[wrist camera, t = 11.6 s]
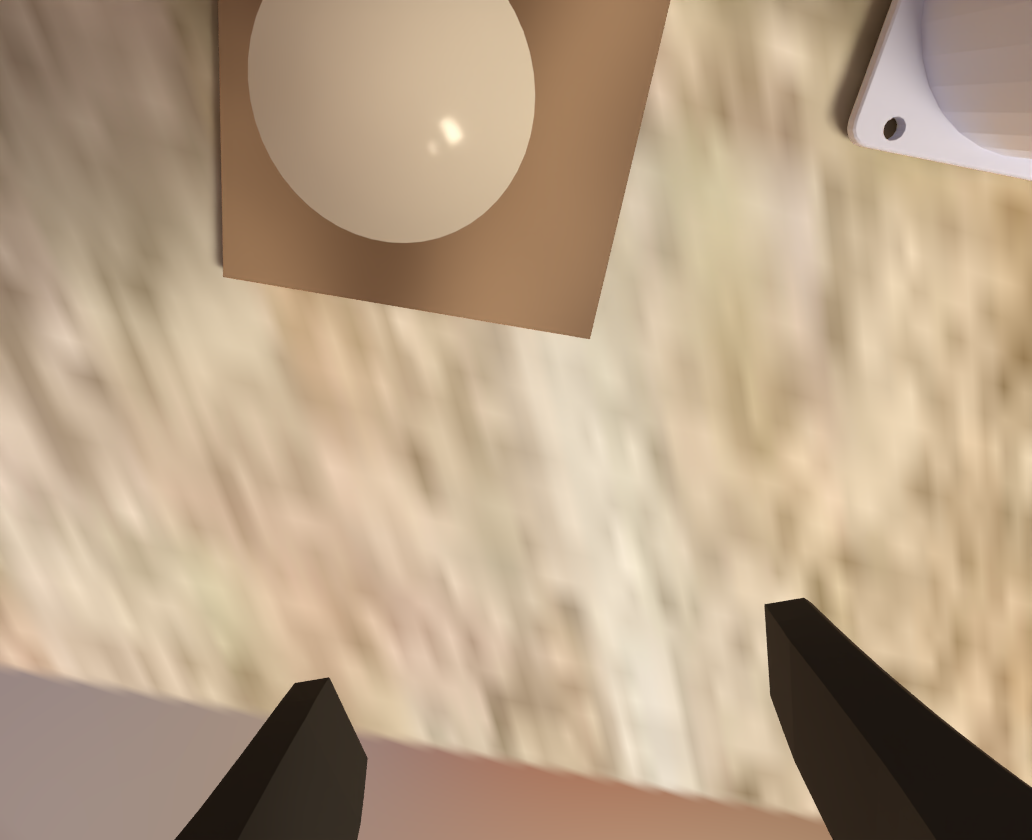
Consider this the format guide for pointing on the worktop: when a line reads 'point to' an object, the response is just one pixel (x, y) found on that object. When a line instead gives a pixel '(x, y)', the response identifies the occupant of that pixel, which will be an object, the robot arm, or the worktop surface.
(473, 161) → the cream capsule
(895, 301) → the worktop surface
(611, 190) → the tan board
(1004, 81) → the robot arm
